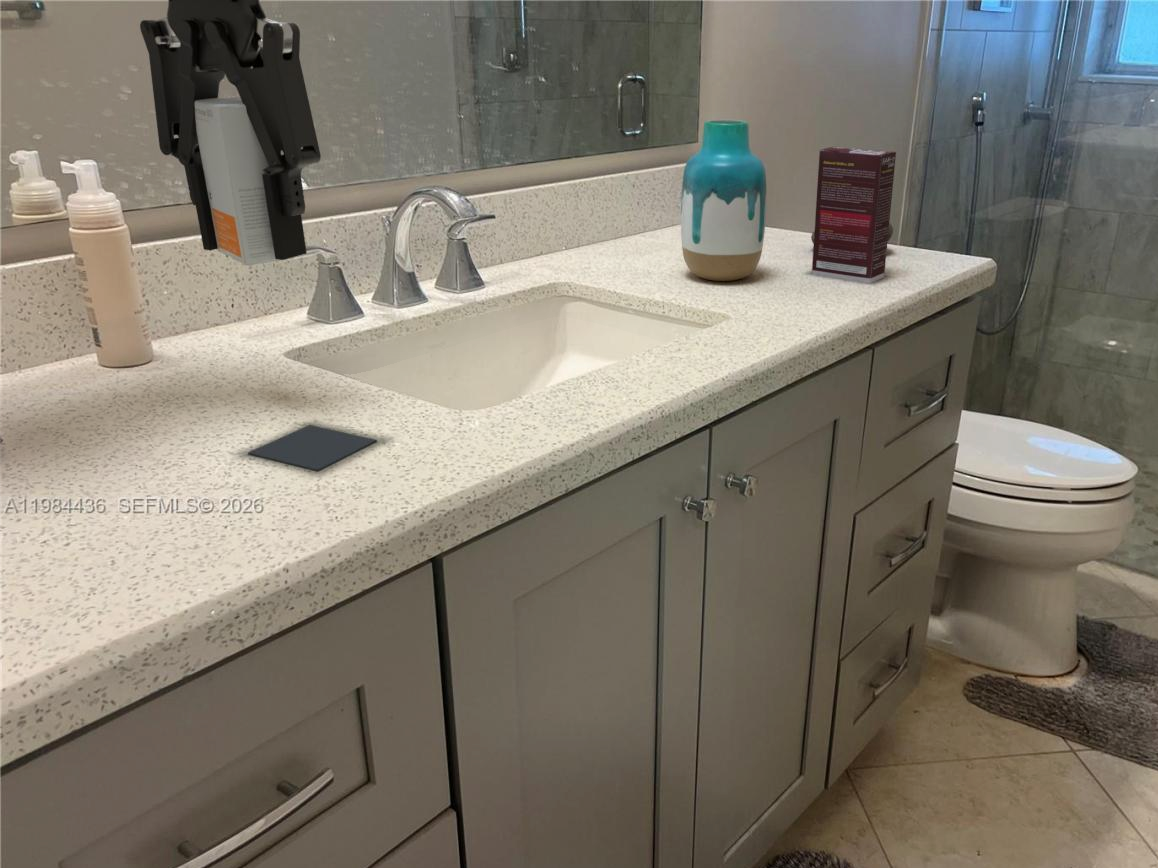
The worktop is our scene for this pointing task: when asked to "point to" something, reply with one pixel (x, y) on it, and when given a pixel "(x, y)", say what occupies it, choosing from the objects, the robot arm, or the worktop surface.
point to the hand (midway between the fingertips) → (254, 251)
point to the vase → (723, 204)
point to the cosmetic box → (234, 180)
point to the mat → (312, 448)
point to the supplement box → (852, 213)
